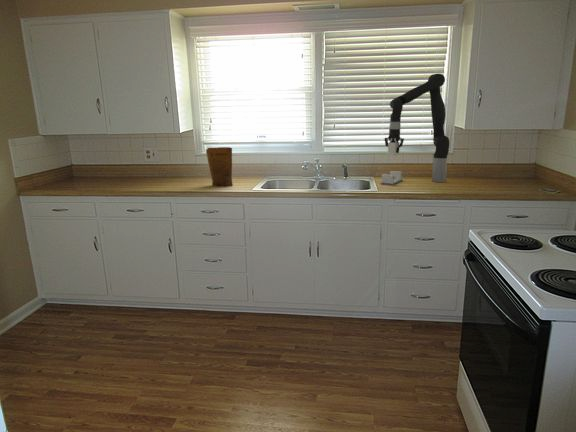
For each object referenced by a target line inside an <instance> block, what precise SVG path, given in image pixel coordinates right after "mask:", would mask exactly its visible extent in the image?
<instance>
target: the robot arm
mask: <svg viewBox="0 0 576 432" xmlns="http://www.w3.org/2000/svg"><path fill="white" fill-rule="evenodd" d="M445 82H446V77H445V76H444V75H443V74H442V73H434V74H430V76H429V77H428V79H427V81H426V82H424V83H422V84H420V85H418V86H415V87H414V88H412V89H410V90H408V91H407V92H405V93H403V94H401V95H399V96H397V97H394V98H393V99H392V100H391V101H390V102H389V107H390V108H391V110H392V111H391V114H390V117H389V120H390V121H389V130H388V137H384V144H385V147H387V148H388V143H390V142H395V143H397V150H396V153H398V152H399V153H400V148H401V147H403V145H404V141H405V138H402V137H401V114H402V112H403V108H404V105H406V104H408V103H411V102H412V101H414V100H415V99H418V98H419V97H421V96H423V95H425V94H426V93H428V92H429V95H430V107H431V108H430V109H431V110H430V112H431V120H432V121H431V122H432V128H433V135H432V136H433V139H432V140H433V141H432V142H433V145H434V147H435V151H434V153H433V161H432V172H431V173H432V175H431V182H433V183H445V182H447V173H448V168H447V165H448V164H447V163H448V155H449V152H450V151H449V150H450V139H449V138H450V137H448V136H447V135H446V134H445V129H444V128H445V122H446V105H445V103H444V100H443V98H442V94H441V87H442V86H443V85H445ZM399 142H400V145H399Z"/></svg>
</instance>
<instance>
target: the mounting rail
mask: <svg viewBox="0 0 576 432" xmlns="http://www.w3.org/2000/svg"><path fill="white" fill-rule="evenodd" d="M403 176H404V175H403V171H397V170H396V171H395V170H390V171H389V174H386V173H383V174H381V182H380V185H381V186H382V185H383V186H392V187H393V186H395V185H397V184H399V183H402V182H403V181H404V180H403Z"/></svg>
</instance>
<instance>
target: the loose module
mask: <svg viewBox="0 0 576 432" xmlns="http://www.w3.org/2000/svg"><path fill="white" fill-rule="evenodd" d="M389 142H390V141H389ZM389 142H388V147H387V157H396V156H399V155H400V151H399V152H398V153H396V150H397V143H395V142H390V143H389ZM398 142H399V145H400V142H401V141H398Z"/></svg>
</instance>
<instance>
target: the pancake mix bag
mask: <svg viewBox="0 0 576 432" xmlns="http://www.w3.org/2000/svg"><path fill="white" fill-rule="evenodd" d="M205 153H206V158H207V163H208V168H209V172H210V176H211V181H212V183H211V185H212V186H213V187H233V185H234V184H233V148H232V147H227V146H226V147H225V146H224V147H222V146H221V147H220V146H219V147H207V149H206V150H205Z"/></svg>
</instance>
